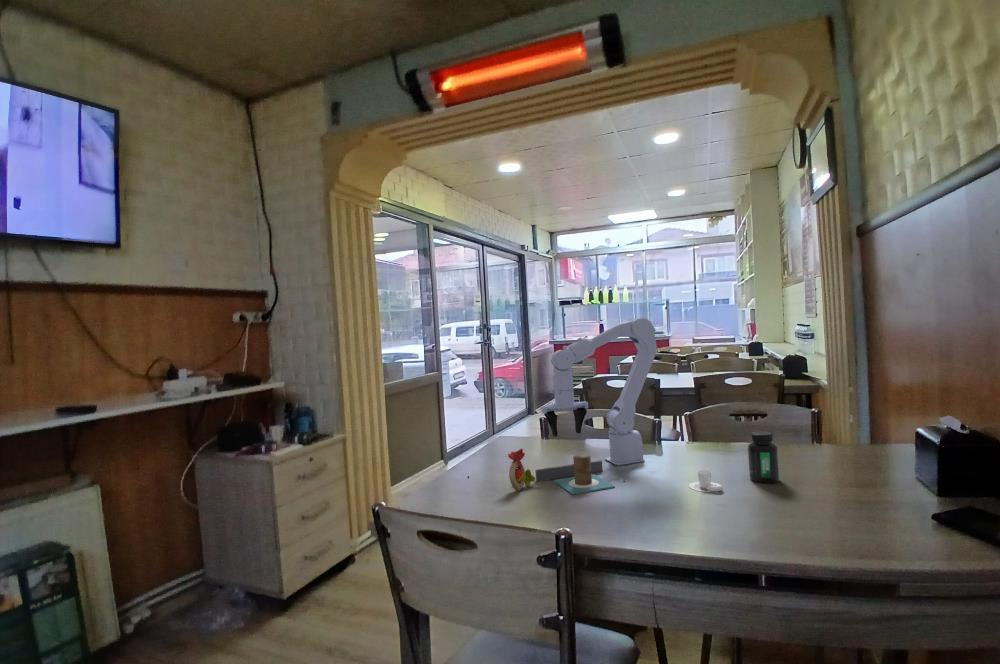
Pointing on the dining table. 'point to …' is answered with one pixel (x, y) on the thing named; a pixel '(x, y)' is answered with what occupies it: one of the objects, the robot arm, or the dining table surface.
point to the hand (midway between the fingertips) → (566, 434)
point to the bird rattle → (519, 471)
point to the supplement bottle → (763, 458)
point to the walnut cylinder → (582, 469)
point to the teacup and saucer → (706, 482)
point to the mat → (577, 489)
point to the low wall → (564, 471)
